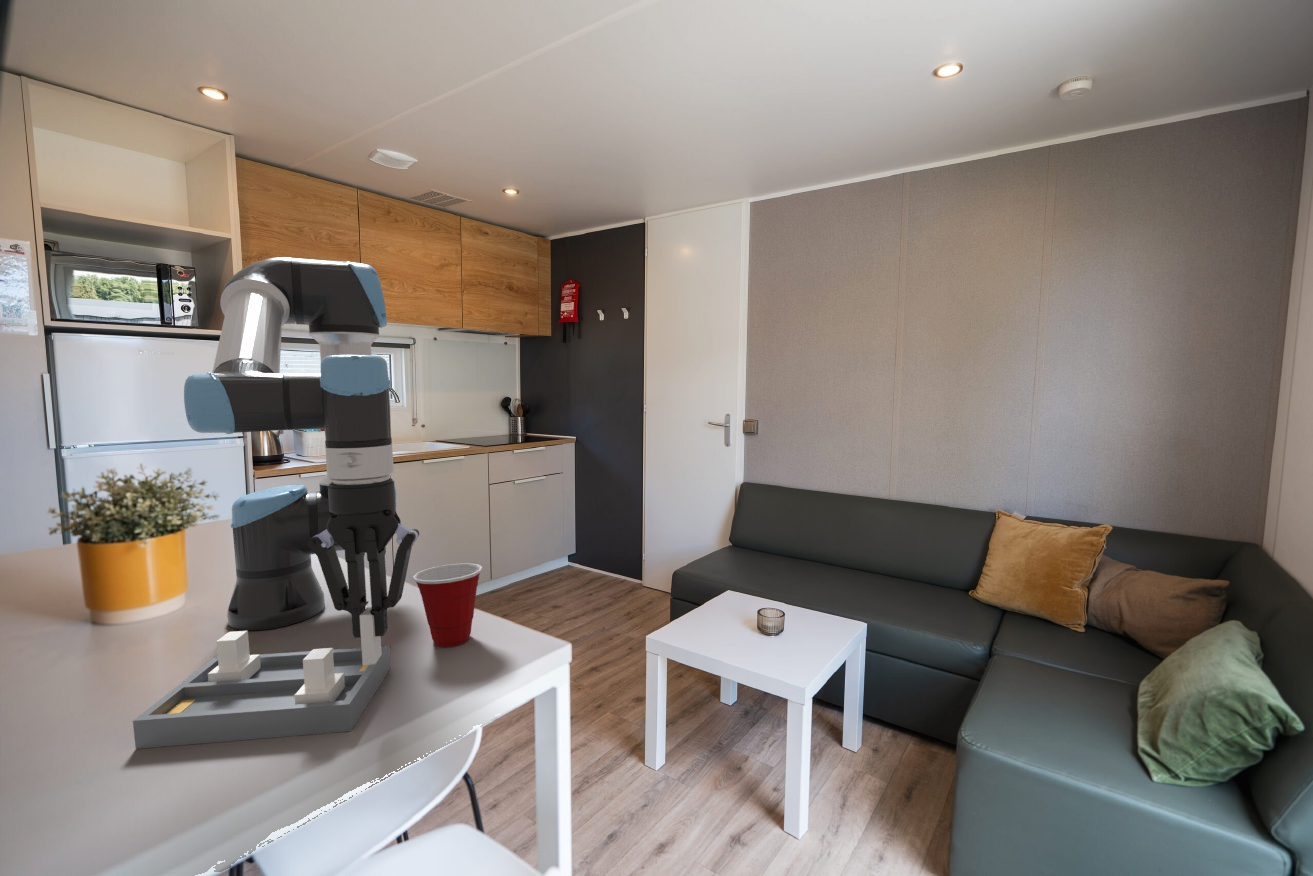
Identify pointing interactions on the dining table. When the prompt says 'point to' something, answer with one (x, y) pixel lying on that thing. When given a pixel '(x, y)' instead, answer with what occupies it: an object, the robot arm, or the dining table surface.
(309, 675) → the tab
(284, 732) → the grey divided tray
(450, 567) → the plastic cup
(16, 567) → the dining table surface
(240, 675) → the tab
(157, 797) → the dining table surface
